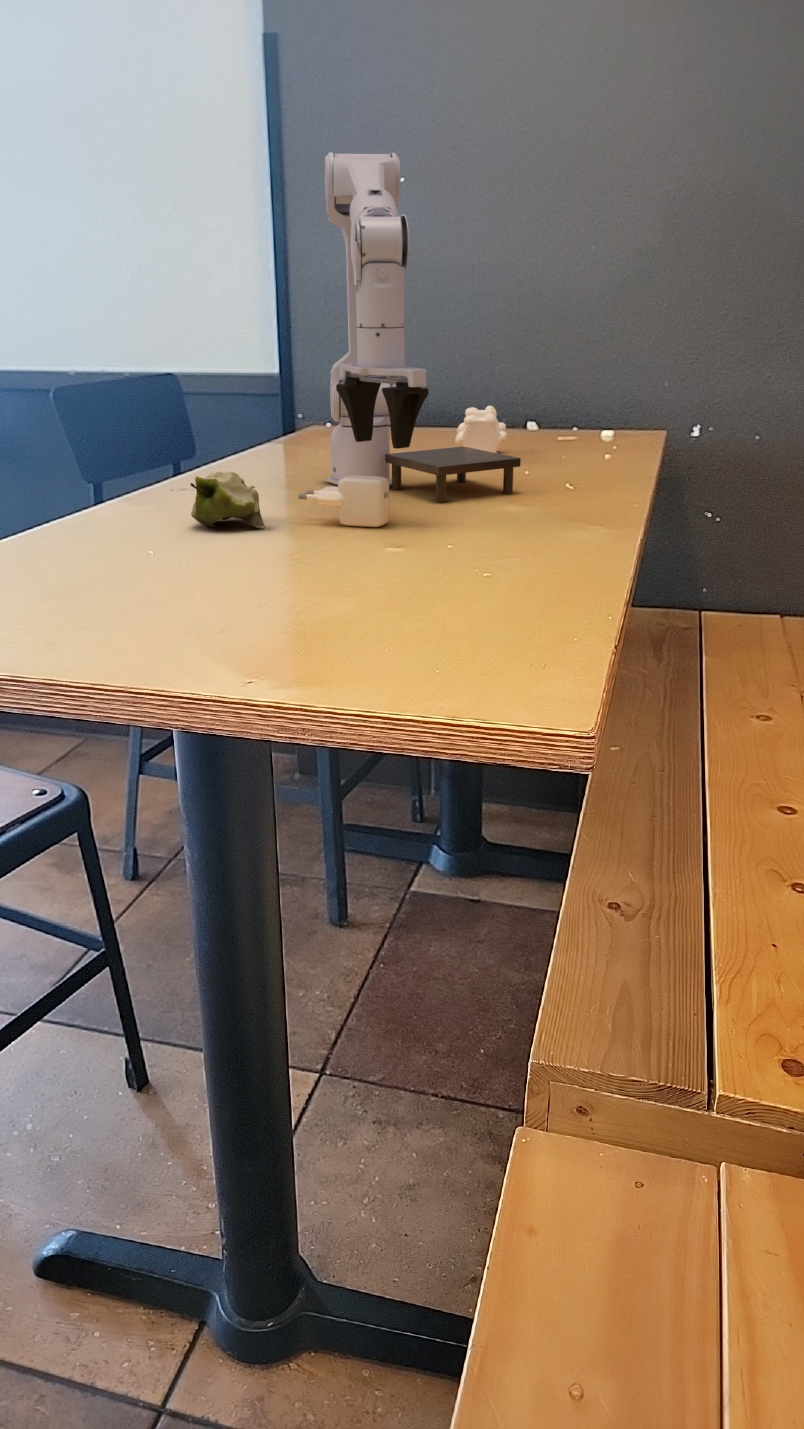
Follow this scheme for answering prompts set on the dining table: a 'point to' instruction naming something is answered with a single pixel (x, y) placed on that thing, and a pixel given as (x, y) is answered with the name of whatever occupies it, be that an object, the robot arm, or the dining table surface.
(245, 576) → the dining table surface
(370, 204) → the robot arm
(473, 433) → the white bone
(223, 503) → the fruit
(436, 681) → the dining table surface
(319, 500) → the power adapter
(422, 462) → the stool
